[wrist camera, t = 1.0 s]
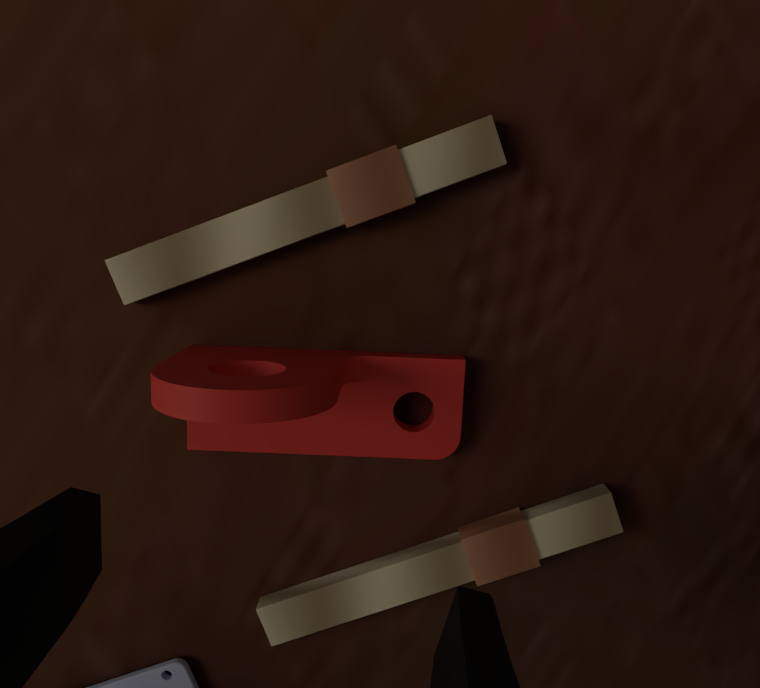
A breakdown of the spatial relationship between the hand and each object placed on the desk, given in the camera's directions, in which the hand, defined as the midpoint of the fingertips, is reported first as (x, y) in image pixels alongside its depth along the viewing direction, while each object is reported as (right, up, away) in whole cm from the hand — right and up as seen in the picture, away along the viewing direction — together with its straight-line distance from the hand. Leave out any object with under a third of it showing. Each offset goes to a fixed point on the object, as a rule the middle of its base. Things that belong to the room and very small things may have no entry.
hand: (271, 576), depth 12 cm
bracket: (0, +2, +16) cm, 16 cm away
